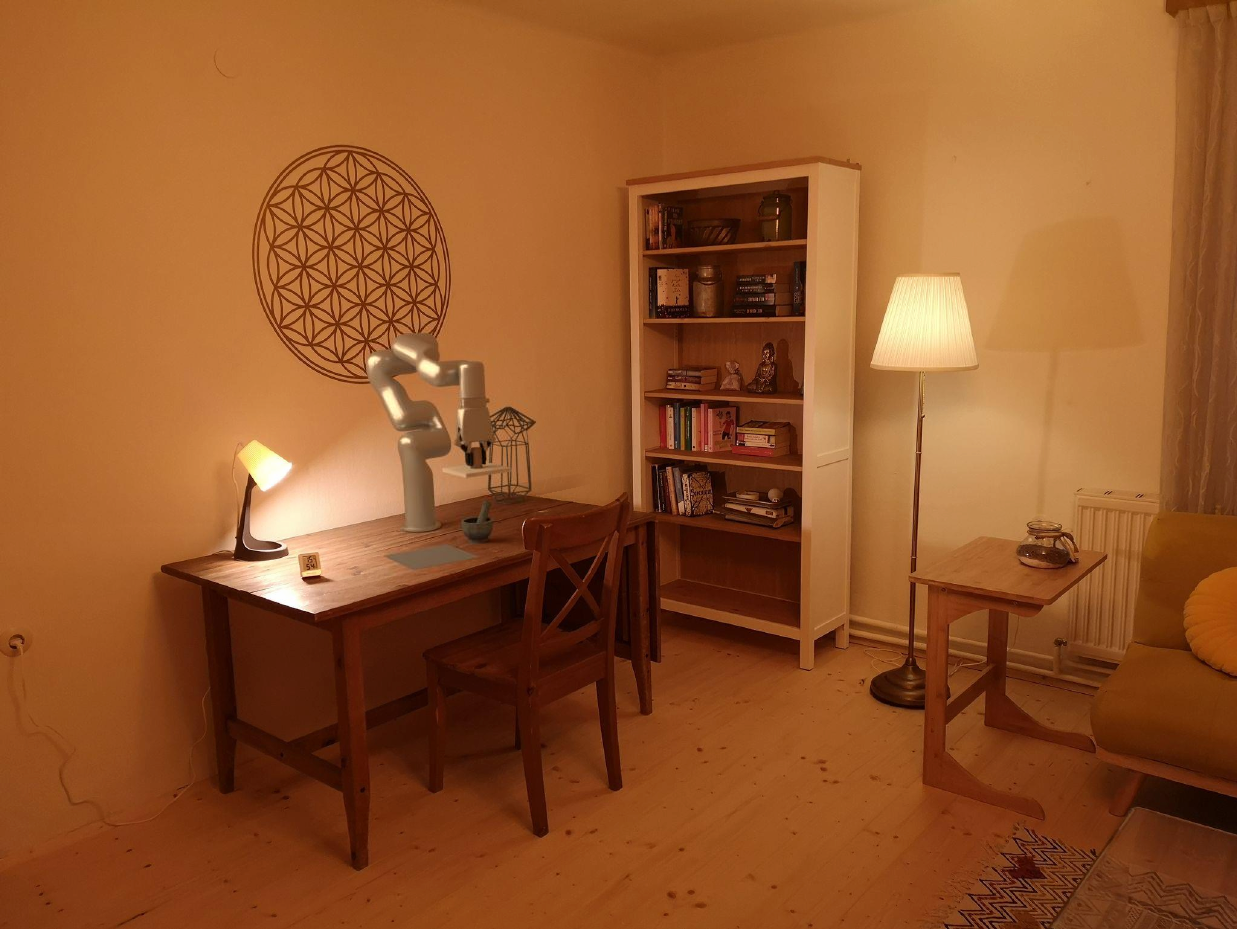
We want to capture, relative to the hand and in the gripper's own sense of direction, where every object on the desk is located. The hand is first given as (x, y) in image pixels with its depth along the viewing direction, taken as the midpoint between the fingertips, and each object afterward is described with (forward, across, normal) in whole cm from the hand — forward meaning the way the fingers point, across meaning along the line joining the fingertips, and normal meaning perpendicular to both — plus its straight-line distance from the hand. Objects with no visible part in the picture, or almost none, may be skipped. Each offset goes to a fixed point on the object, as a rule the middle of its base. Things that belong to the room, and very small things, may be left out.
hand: (476, 464), depth 286 cm
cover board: (+2, 0, 0) cm, 2 cm away
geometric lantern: (+24, -39, -47) cm, 66 cm away
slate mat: (+24, +20, +8) cm, 32 cm away
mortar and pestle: (+24, 0, 0) cm, 24 cm away
